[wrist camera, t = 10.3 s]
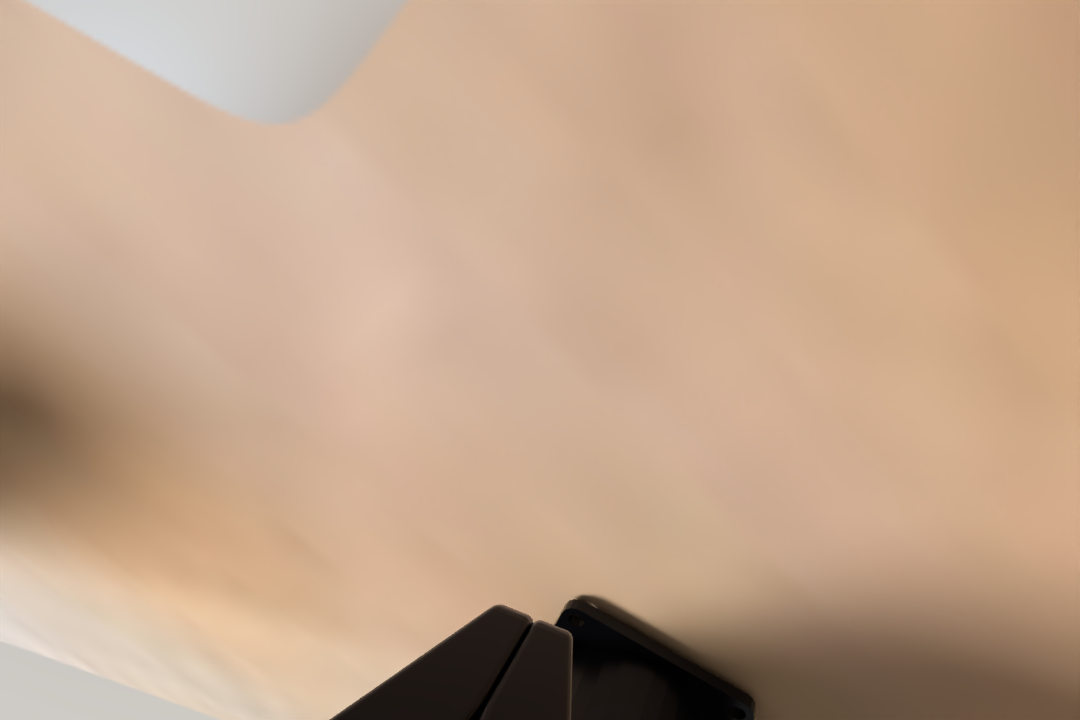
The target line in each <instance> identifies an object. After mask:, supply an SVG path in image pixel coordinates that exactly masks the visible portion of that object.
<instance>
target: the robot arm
mask: <svg viewBox="0 0 1080 720" xmlns="http://www.w3.org/2000/svg"><path fill="white" fill-rule="evenodd" d="M576 615H578V616H580V617H581V618H579V617H577V616H576ZM736 707H738V708H741V709H738V708H736ZM755 712H756V703H755V701H754V700H753V698H752V697H750V696H749V695H748V694H746V693H744V692H743V691H741V690H739V689H737V688H736V687H734V686H732V685H730V684H729V683H727V682H725V681H723V680H722V679H720V678H718V677H716V676H715V675H713V674H711V673H709V672H708V671H706V670H704V669H702V668H701V667H699V666H697V665H695V664H693V663H692V662H690V661H688V660H686V659H685V658H683V657H681V656H679V655H678V654H676V653H674V652H672V651H671V650H669V649H667V648H665V647H664V646H662V645H660V644H658V643H657V642H655V641H653V640H651V639H650V638H648V637H646V636H644V635H642V634H641V633H639V632H637V631H635V630H634V629H632V628H630V627H628V626H627V625H625V624H623V623H621V622H620V621H618V620H616V619H614V618H613V617H611V616H609V615H607V614H606V613H604V612H602V611H600V610H599V609H597V608H595V607H593V606H591V605H590V604H588V603H586V602H584V601H581V600H575V599H574V600H570V601H569V602H568V603H567V604H566V605H565V607H564V608H563V610H562V612H561V614H560V615H559V617H558V619H557V621H556V622H555V624H554V625H552V624H549V623H547V622H544V621H541V620H539V621H536V622H534V623H533V619H532V618H531V617H530V616H529V615H527V614H524V613H522V612H519V611H517V610H514V609H512V608H509V607H507V606H504V605H495V606H493V607H491V608H490V609H488V610H487V611H485V612H484V613H482V614H481V615H480V616H478V617H477V618H475V619H474V620H472V621H471V622H470V623H468V624H467V625H465V626H464V627H462V628H461V629H459V630H458V631H457V632H455V633H454V634H452V635H451V636H449V637H448V638H447V639H445V640H444V641H442V642H441V643H439V644H438V645H436V646H435V647H434V648H432V649H431V650H429V651H428V652H426V653H425V654H424V655H422V656H421V657H419V658H418V659H416V660H415V661H413V662H412V663H411V664H409V665H408V666H406V667H405V668H403V669H402V670H401V671H399V672H398V673H396V674H395V675H393V676H392V677H390V678H389V679H388V680H386V681H385V682H383V683H382V684H380V685H379V686H377V687H376V688H375V689H373V690H372V691H370V692H369V693H367V694H366V695H365V696H363V697H362V698H360V699H359V700H357V701H356V702H354V703H353V704H352V705H350V706H349V707H347V708H346V709H344V710H343V711H342V712H340V713H339V714H337V715H336V716H334V717H333V718H331V719H330V720H754V717H755Z"/></svg>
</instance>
